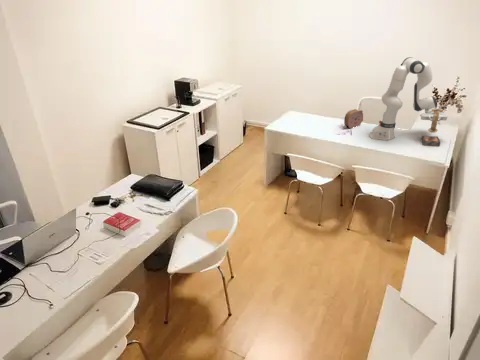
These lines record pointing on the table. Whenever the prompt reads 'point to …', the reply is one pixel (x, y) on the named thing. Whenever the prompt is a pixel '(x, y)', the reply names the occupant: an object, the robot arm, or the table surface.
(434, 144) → the display plinth
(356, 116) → the face sculpture
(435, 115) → the eyeglasses stand
